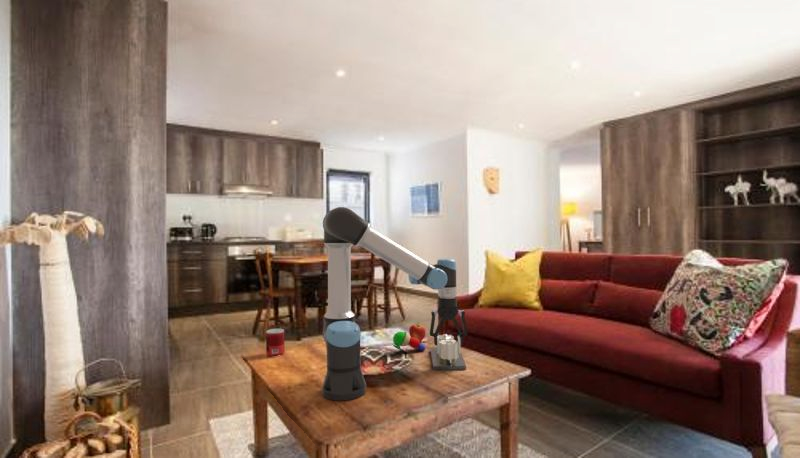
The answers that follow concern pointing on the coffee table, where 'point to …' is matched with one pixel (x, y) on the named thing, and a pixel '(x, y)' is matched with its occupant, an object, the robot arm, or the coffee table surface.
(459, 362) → the carrier
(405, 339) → the toy
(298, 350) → the coffee table surface
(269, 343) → the canned food
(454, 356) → the planet gear
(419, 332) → the apple
